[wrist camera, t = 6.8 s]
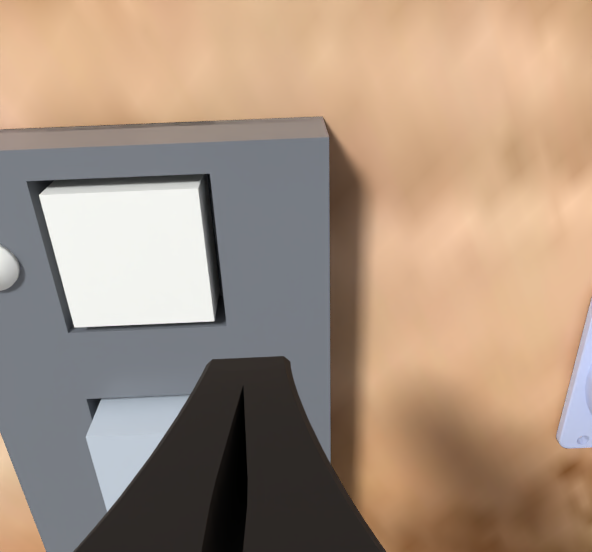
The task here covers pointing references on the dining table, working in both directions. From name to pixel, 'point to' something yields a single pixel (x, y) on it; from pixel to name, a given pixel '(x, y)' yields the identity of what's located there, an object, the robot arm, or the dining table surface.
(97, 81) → the dining table surface
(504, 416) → the dining table surface
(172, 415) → the key grey
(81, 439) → the grey flat block
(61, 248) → the key cream
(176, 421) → the robot arm
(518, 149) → the dining table surface
